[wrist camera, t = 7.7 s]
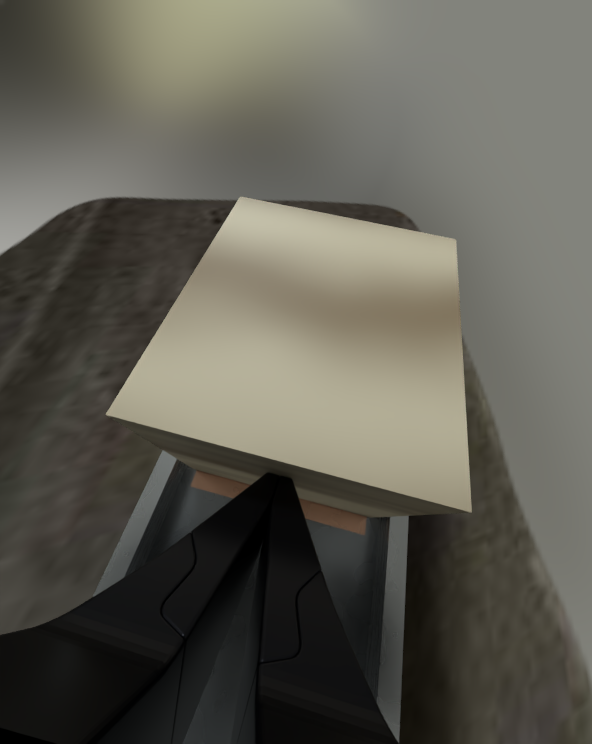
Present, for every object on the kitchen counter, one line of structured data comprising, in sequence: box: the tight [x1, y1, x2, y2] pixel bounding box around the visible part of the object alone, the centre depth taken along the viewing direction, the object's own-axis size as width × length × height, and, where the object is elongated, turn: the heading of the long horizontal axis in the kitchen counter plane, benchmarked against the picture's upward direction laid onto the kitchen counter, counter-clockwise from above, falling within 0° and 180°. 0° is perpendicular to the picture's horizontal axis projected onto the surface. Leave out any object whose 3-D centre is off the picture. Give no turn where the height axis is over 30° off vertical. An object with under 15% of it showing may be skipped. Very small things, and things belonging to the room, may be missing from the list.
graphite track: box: [93, 450, 409, 744], centre depth 13 cm, size 29×12×4 cm, turn 166°
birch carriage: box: [106, 197, 472, 518], centre depth 12 cm, size 10×9×8 cm
